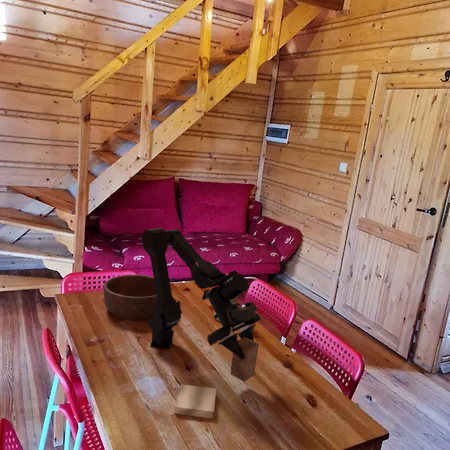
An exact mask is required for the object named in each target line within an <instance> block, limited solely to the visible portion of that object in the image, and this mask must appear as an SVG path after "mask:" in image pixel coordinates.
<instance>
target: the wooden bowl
mask: <svg viewBox="0 0 450 450" xmlns="http://www.w3.org/2000/svg"><path fill="white" fill-rule="evenodd" d="M102 289H103V291H102V292H103V297H104V302H105V306H106V308H107V310H108V311H109V312H110V314H112V315H113V316H115V317H117V318H119V319H122V320H123V319H124V320H128V321H144V320H150V319H152V318H153V317H154V316H155V314H154V309H155V306H156V303H157V294H156V288H155V282H154V276H153V275H152V276H151V275H146V274H145V275H144V274H124V275H117V276H113V277H111V278H108V279H107V280H106V281H104V283H103V286H102Z"/></svg>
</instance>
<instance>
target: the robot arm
mask: <svg viewBox="0 0 450 450" xmlns="http://www.w3.org/2000/svg"><path fill="white" fill-rule="evenodd" d="M140 239H141V243H142V246H143V250H144V251H145V252H146V253H147V255H148V256H149V258H150V264H151V268H152V270H151V271H152V274H153V275H152V277H154V282H155V288H156V294H157V303H156V306H155V309H154V314H155V316H154V317H152V318H149V319H148V321H147V323H148V328H149V329H151V330H152V331H151V332H152V335H151V341H150V344H149V346H150V347H152V348H160V349H167V350H169V349H171V345H173V343H174V337H175V336H174V335H175V329H174V328H173V327H175V326H177V324H178V323H179V322H180V320H181V319H182V313H183V311H182V309H181V302H180V301H177V300H176V299H175V298H174V296H173V292H172V287H171V280H170V275H169V268H168V263H167V256H166V254H167V253H166V252H167V250H168V247H169V246H170V247H171V248H172V250H174V252H175V253H176V254H177V255H178V257H179V258H180V259H181V260H182V261H183V263H185V265H186V266H187V267H188V269H189V270H190V276H191V278H192V279H193V282H194V283H195V285H196V286H197V288H199V289H202V290H203V289H205V290H204V291H203V294H202V297H201V300H202V301H205V300H208V301H209V303H210V305H211V306H212V309H213V311H214V314H215V313H216V314H215V315H214V314H213V317H214V320H216V318H218V319H219V321H218V322H219V323H220V324H221V326H222V327H219V328H218V329H215V330H214V331H213V332H211V333H209V334H208V335H207V339H206V340H207V343H208V345H209V346H213V345H215V344H217V343H218V345H219V346H220V345H221V346H223V347H225V348H226V349H227V350H228V351H230V352H231V353H232V354H233V353H234V354H235V355H236V356H238V357H239V358H240V359H242V360H243V359H244V358H245V357H244V354H243V352H242V349H241V347H240V345H239V343H238V337H239V338H240V339H242V338H244V337H246V338H248V339H250V340H252V341H254V342H255V340H254V329H255V327H256V326H257V325H256V323H258V322H260V321H261V320H262V319H261V317H260V315H259V313H257V311H258V308H257V306H256V304H255V303H254V301H248V302H245V303H244V304H245V305H244V306H241V307H239V304H237V303H234V304H233V303H232V301H231V300H233V299H234V300H235V299H236V298H238V297H240V296H241V295H242V294H244V293H245V292H246V291H248V290H249V281H248V280H247V278H246V277H245V276H244V275H242V274H241V273H238V271H237V270H236V269H234V270H232V271H229V273H226V274H228V275H226V274H225V273H224V272H222V271H220V268H218V267H217V266H216V265H214V264H213V263H212V262H210V261H208V260H206V259H204V258H203V257H202V256H201V255H200V254H199V253H198V252H197V250H195V248H194V247H193V246H192V245H191V244H190V242H189V241H188V240H187V239H186V237H185V236H184V235H183V234H182V232H181V231H180V229H177V228H176V229H167V230H165V229H164V228H163V227H158V228H151V229H145V230H144V231H143V232H142V234H141V237H140ZM208 288H211V289H208ZM237 331H239V332H237ZM235 332H236V333H235ZM219 341H220V342H219Z"/></svg>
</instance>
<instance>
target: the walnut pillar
mask: <svg viewBox="0 0 450 450" xmlns="http://www.w3.org/2000/svg"><path fill="white" fill-rule="evenodd" d="M237 341H238V343H239V345H240V347H241V349H242V352H243V354H244V357H245V358H244V359H243V360H242V359H240V358H239V357H238V356H236V355H235V354H234V353H233V352H232V358H231V365H230V375H231V376H233V377H235V378H237V379H238V380H241V381H242V382H244V383H245V382H246V381H248V380H249V379H251V378H252V377H254V376H255V374H256V367H257V359H258V353H259V343H258V342H256V341H255V340H254V341H252V340H250V339H248V338H246V337H244V338H242V339H241V338H240V339H237Z"/></svg>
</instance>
